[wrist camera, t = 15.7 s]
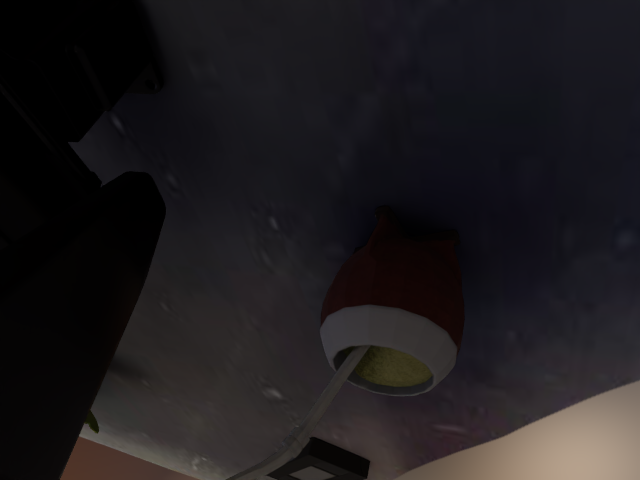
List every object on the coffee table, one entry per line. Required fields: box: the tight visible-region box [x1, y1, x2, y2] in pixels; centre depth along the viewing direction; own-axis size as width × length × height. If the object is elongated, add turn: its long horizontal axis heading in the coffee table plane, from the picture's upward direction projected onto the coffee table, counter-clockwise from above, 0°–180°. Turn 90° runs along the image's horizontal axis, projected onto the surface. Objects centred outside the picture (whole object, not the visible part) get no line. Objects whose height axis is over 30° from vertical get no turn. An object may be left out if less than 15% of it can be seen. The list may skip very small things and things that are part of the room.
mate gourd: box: [226, 206, 465, 480], centre depth 24 cm, size 8×8×15 cm
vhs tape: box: [267, 438, 370, 480], centre depth 63 cm, size 8×14×2 cm, turn 153°
